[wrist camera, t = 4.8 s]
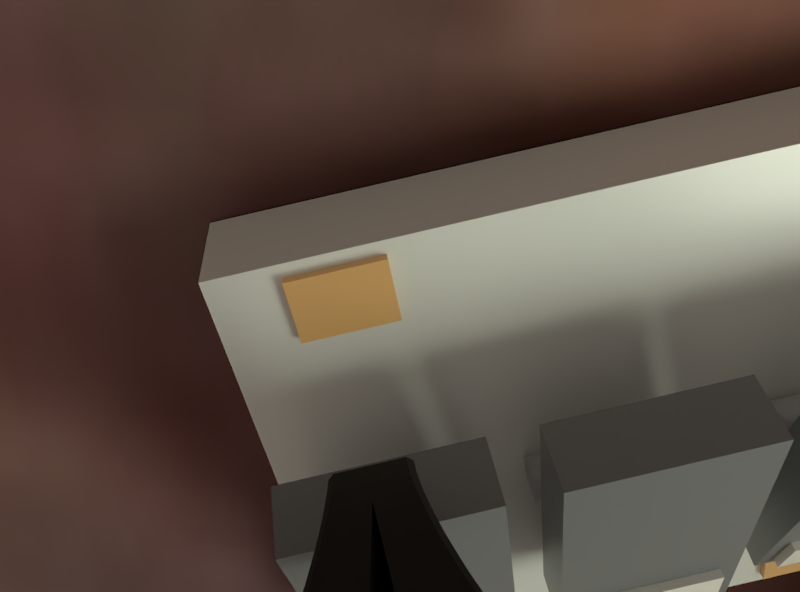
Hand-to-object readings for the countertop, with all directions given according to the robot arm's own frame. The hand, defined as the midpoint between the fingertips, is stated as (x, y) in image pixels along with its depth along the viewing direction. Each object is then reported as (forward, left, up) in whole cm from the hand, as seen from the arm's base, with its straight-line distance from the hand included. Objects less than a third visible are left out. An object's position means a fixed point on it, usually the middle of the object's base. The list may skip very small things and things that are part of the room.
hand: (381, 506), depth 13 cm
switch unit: (-5, +4, -6) cm, 9 cm away
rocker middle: (-5, +4, -2) cm, 7 cm away
